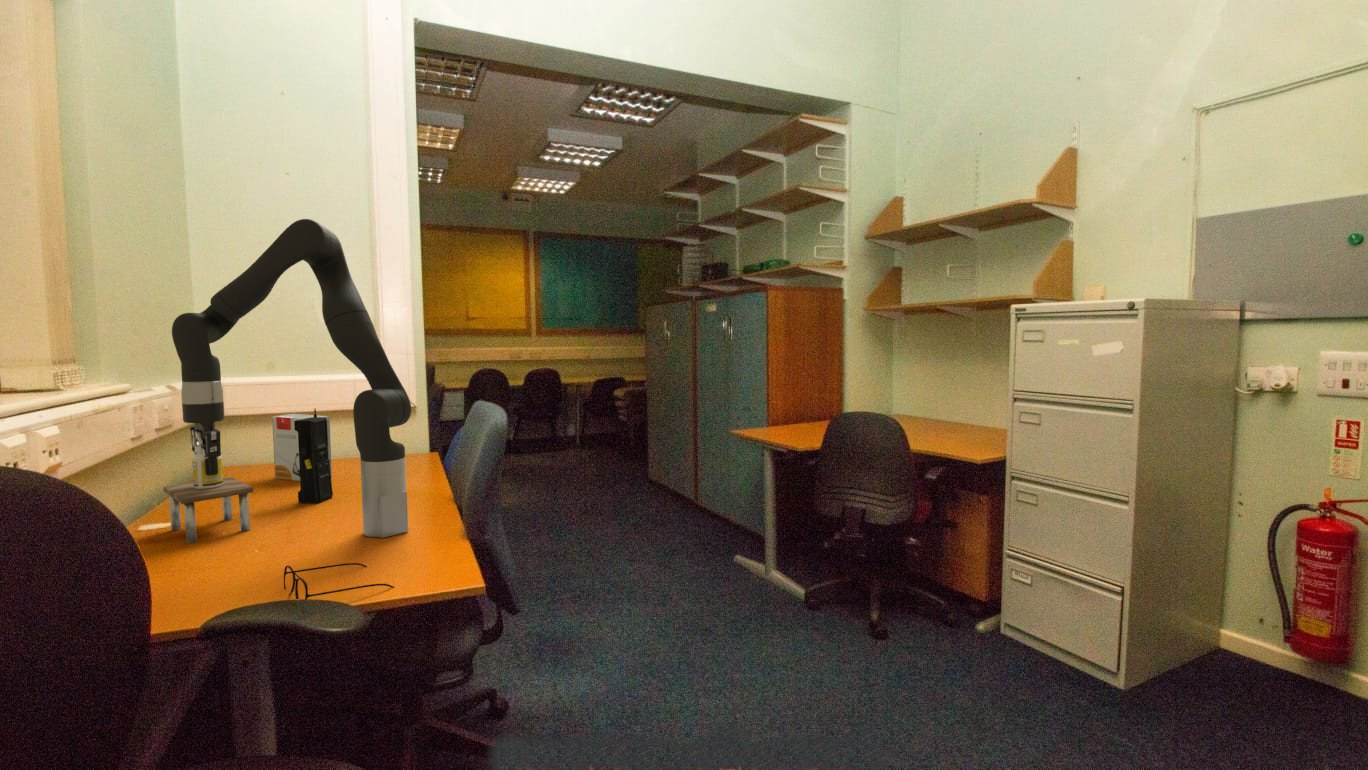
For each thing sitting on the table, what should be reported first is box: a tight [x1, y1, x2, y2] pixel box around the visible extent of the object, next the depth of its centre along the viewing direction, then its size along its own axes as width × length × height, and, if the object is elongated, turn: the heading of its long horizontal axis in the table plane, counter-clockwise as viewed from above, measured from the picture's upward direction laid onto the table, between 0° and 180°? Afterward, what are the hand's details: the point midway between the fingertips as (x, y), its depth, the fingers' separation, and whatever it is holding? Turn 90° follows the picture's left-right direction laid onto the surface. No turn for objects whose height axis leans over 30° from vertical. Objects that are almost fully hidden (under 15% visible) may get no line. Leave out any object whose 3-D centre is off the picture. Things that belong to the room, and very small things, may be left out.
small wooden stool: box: [163, 476, 254, 544], centre depth 143 cm, size 16×13×10 cm
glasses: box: [283, 562, 395, 601], centre depth 111 cm, size 14×15×5 cm
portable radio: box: [294, 409, 334, 504], centre depth 167 cm, size 8×6×25 cm
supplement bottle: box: [191, 445, 224, 489], centre depth 142 cm, size 5×5×10 cm
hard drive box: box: [271, 413, 333, 482], centre depth 193 cm, size 16×8×20 cm, turn 73°
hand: (207, 472), depth 142 cm, fingers open, 6 cm apart
